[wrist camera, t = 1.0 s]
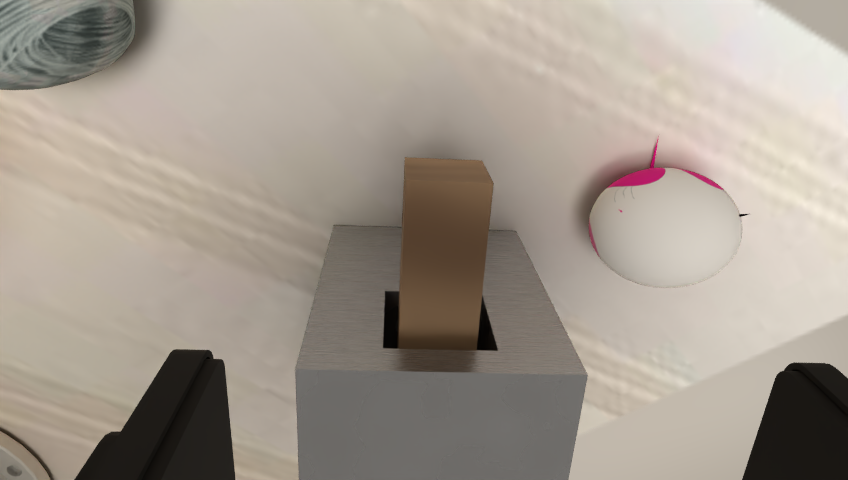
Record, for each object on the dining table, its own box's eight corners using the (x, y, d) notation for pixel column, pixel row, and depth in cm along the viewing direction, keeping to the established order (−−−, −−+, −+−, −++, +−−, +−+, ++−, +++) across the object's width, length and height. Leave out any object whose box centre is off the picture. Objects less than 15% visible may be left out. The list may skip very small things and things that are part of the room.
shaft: (448, 524, 31) (453, 577, 28) (389, 524, 30) (388, 577, 28) (481, 160, 23) (493, 183, 21) (404, 157, 23) (406, 179, 20)
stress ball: (686, 163, 36) (759, 118, 29) (697, 298, 34) (778, 281, 28) (562, 157, 35) (609, 108, 28) (567, 294, 33) (618, 276, 27)
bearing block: (501, 354, 36) (556, 544, 24) (334, 350, 36) (301, 543, 23) (515, 231, 33) (587, 375, 21) (333, 225, 33) (295, 369, 20)
